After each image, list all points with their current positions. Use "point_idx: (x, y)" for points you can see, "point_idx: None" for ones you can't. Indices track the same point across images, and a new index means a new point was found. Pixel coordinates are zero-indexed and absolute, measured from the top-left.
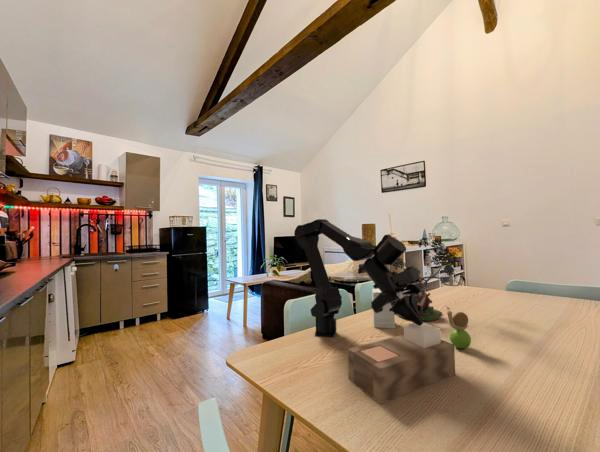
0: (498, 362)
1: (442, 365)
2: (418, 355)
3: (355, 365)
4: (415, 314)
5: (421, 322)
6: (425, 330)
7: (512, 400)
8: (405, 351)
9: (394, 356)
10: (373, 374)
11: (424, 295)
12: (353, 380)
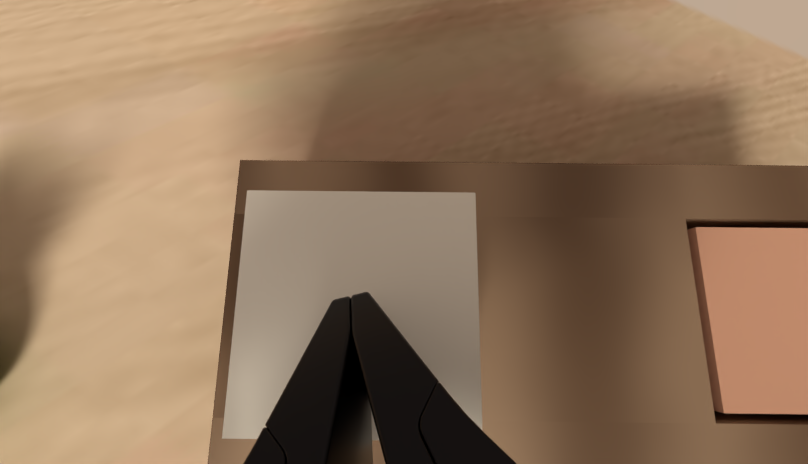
0: (14, 178)
1: None
2: (580, 169)
3: None
4: (398, 355)
5: (366, 294)
6: (408, 225)
7: (301, 19)
8: (614, 247)
9: (731, 231)
10: None
11: None
12: None
